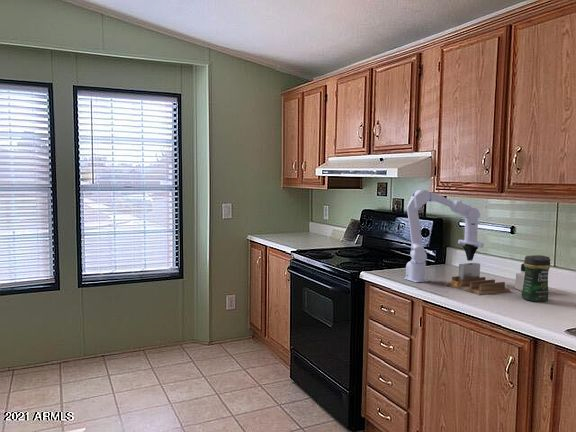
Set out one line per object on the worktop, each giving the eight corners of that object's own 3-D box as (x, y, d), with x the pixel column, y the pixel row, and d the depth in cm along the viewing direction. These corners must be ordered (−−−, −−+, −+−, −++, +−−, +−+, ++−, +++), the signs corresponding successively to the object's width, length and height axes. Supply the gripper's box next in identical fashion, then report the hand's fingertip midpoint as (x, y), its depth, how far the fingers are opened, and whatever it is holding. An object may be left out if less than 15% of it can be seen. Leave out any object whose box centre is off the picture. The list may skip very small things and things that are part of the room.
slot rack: (446, 285, 226) (446, 276, 226) (476, 282, 233) (476, 274, 233) (479, 294, 208) (479, 285, 208) (509, 291, 215) (510, 282, 215)
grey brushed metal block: (458, 283, 225) (458, 264, 224) (474, 281, 229) (475, 262, 228) (462, 284, 222) (463, 265, 222) (479, 282, 226) (480, 263, 226)
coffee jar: (531, 302, 195) (534, 257, 194) (518, 298, 203) (520, 254, 202) (552, 301, 198) (554, 256, 196) (538, 297, 205) (540, 253, 204)
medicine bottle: (526, 292, 214) (527, 265, 213) (514, 288, 220) (516, 262, 219) (539, 291, 215) (541, 264, 214) (528, 287, 222) (529, 262, 221)
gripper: (489, 233, 227) (487, 262, 228) (466, 230, 241) (465, 257, 242) (477, 234, 224) (476, 263, 226) (455, 231, 238) (454, 258, 239)
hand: (469, 260), depth 233 cm, fingers closed
